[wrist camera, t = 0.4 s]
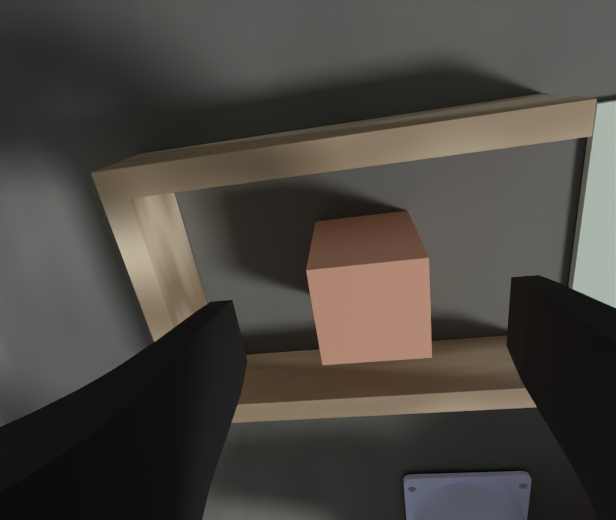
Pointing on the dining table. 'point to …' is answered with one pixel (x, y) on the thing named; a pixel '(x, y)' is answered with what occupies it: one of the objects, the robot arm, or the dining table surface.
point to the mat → (597, 212)
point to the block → (370, 289)
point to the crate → (310, 160)
